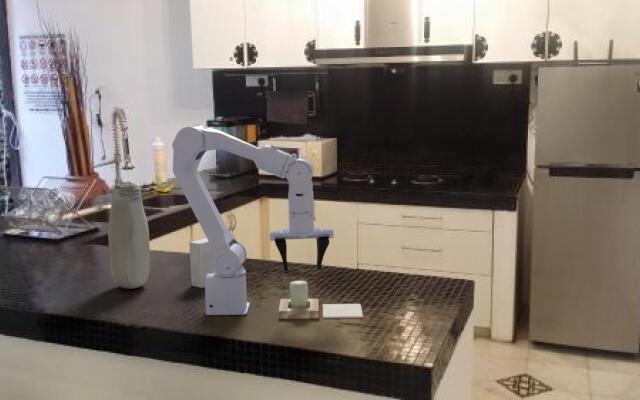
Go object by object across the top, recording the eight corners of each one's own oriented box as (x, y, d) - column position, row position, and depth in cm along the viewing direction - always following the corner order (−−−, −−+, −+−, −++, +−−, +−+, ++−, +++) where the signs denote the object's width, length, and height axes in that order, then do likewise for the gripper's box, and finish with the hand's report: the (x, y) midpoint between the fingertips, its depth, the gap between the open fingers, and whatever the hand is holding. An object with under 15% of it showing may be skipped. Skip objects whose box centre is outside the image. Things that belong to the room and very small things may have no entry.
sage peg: (290, 315, 153) (289, 285, 151) (290, 309, 157) (290, 280, 155) (307, 315, 153) (307, 285, 151) (307, 309, 157) (307, 280, 155)
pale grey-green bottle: (156, 288, 175) (150, 183, 170) (116, 295, 169) (110, 186, 165) (145, 280, 183) (139, 179, 179) (107, 285, 178) (100, 181, 173)
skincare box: (207, 280, 182) (206, 237, 180) (218, 283, 179) (216, 239, 177) (190, 285, 177) (188, 241, 175) (201, 288, 175) (199, 243, 173)
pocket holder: (278, 318, 150) (278, 311, 150) (280, 306, 159) (280, 299, 159) (318, 318, 150) (318, 310, 150) (318, 305, 159) (318, 298, 159)
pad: (323, 318, 150) (323, 316, 150) (322, 305, 159) (322, 304, 159) (362, 317, 150) (362, 316, 150) (360, 305, 159) (360, 303, 159)
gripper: (270, 215, 147) (271, 275, 149) (335, 213, 149) (336, 272, 151) (268, 210, 154) (270, 267, 156) (330, 208, 155) (331, 264, 158)
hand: (302, 269), depth 154 cm, fingers open, 7 cm apart
